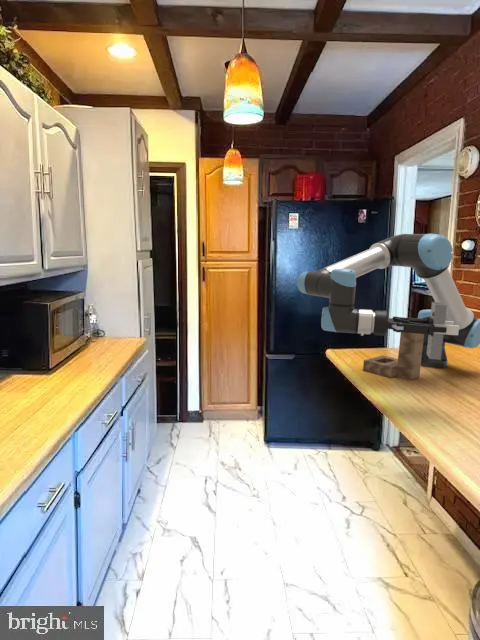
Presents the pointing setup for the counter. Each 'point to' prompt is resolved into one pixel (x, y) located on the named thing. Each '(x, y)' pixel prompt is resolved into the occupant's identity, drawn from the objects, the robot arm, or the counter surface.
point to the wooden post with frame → (400, 359)
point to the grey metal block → (437, 339)
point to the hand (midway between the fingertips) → (455, 328)
